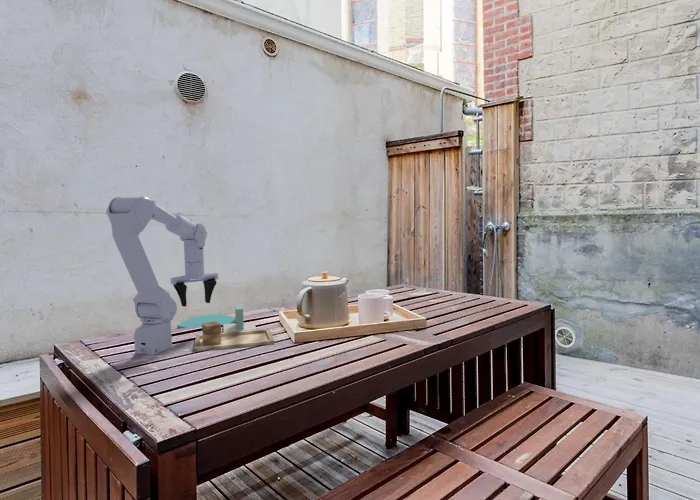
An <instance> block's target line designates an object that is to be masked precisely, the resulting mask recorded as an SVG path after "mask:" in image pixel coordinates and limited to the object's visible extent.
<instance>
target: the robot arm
mask: <svg viewBox="0 0 700 500" xmlns="http://www.w3.org/2000/svg"><path fill="white" fill-rule="evenodd" d="M105 213H106V215H107V217H108V220H109V223H110V224H111V233H112V238H113V240H114V243H115V245H116V247H117V249H118V252H119V253H120V254H119V255H120V256H121V258H122V260H123V262H124V265H125V268H126V269H127V272H128V274H129V276H130V278H131V281H132V282H133V284H134V287H135V290H136V292H137V294H135V296H134V297H133V300H132V302H133V303H134V312H135V314H136V317H137V318H139V320H140V323H141V325H140V326H138V327H137V328H136V329H135V330H134V334H133V339H134V353H135V354H138V355H139V354H140V355H146V356H148V355H149V356H154V355H157V354H158V353H161V352H165V351H167V350H170V349H171V348H173V342H172V341H173V339H172V322H171V321H173V320H174V317H175V316H176V315H177V310H178V306H177V302H176V300H175V299H174V298H172V296H171V295H170V292H169V291H167V290H165V289H164V288H162V287H161V286H160V285H159V283H158V279H157V278H156V275H155V273H154V270H153V268H152V265H151V263H150V260H149V259H148V256H147V254H146V251H145V249H144V246H143V243H142V242H141V239H140V237H139V236H140V234H141V233H142V232H144V230H145V229H146V227H147V226H148V224H149V223H150V221H151V220H153V221H156V222H158V223H159V224H163V225H164V226H165V228H166V231H168V232H170V233H172V234H173V235H176V236H178V237H179V239H180V241H181V242H183V254H184V255H183V256H184V275H180V276H174V277H170V284H171V285H172V286H173V288H174V289H175V290H176V293H177V295H178V297H179V300H180V305H181V306H182V307H183V308H184V307H185V308H186V307H187V289H188V287H187V286H188V285H186V284H188V283H194V282H202V283H203V288H204V302H205V303H206V304H210V303H211V300H212V299H211V298H212V294H213V292H214V289H215V286H217V280H219V273H217V272H213V273H212V272H211V273H210V272H209V273H205V260H204V259H205V256H204V248H205V245H206V239H207V236H208V232H207V229H206V227H205V226H204V225H203V224H202V223H195V222H194V221H193V220H192V219H191V218H190V219H189V218H187V217H185V216H184V214H183V213H181V212H176V213H170V212H169V211H167V210H166V209H164V208H163V207H161V206H159V205H158V204H157V203H156V201H155V200H154V199H152V198H151V199H150V198H149V197H147V196H145V195H144V196H139V197H137V196H135V197H133V196H132V197H130V196H129V197H121V196H117V197H113V198H112V199H111V200H110V202H109V204H108V206H107V209H106V211H105ZM135 354H132V357H134V356H135Z"/></svg>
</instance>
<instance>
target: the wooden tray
mask: <svg viewBox="0 0 700 500" xmlns="http://www.w3.org/2000/svg"><path fill="white" fill-rule="evenodd" d="M275 344H276V343H275V338H274V336H273V334H272V331H271V330H270V328H263V329H262V328H261V329H259V328H258V329H256V330H248V331H236V332H225V333H224V332H221V344H217V345H206V346H203V333H202V334H196V335H195V339H194V346H193V352H202V351H204V352H205V351H212V350H214V351H215V350H223V349H233V348H243V347H245V348H246V347H253V346H254V347H257V346H265V345H275Z"/></svg>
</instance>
